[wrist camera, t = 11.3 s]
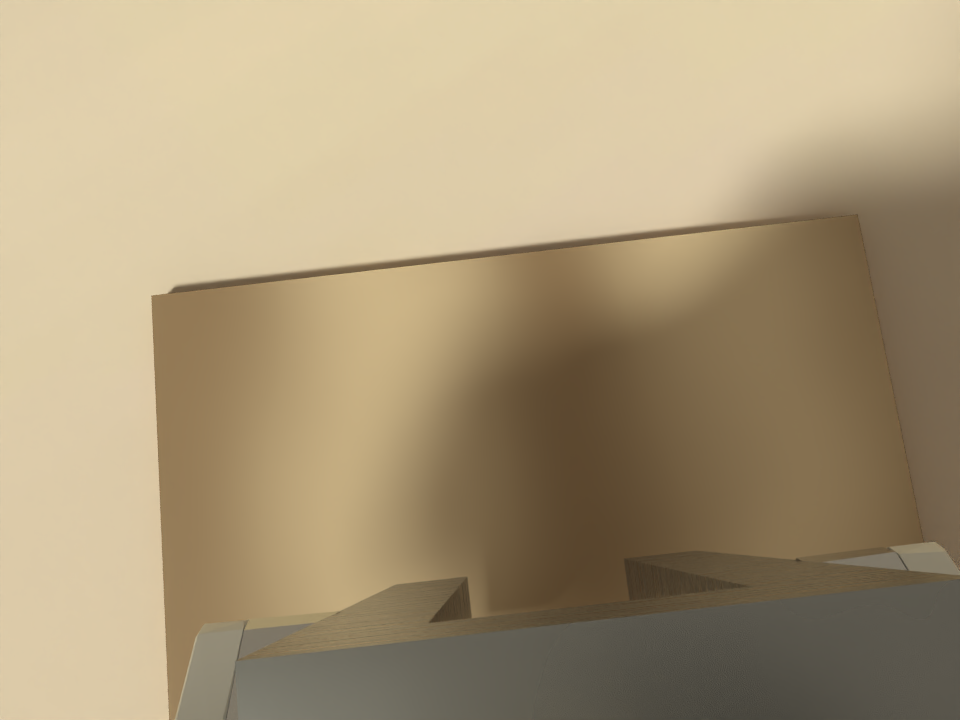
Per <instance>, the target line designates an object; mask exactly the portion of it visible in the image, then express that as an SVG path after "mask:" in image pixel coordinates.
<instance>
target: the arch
mask: <svg viewBox="0 0 960 720" xmlns="http://www.w3.org/2000/svg"><path fill="white" fill-rule="evenodd" d="M624 564H625V572H626V579H627V586H628V593H629V600H628V601H620V602H611V603H602V604H593V605H584V606H575V607H567V608H558V609H549V610H540V611H531V612H522V613H514V614H505V615H496V616H487V617H478V618H472V615H471V605H470V596H469V586H468V577H458V578H449V579H440V580H431V581H422V582H414V583H405V584H396V585H393V586H391V587H389V588H387V589H385V590H383V591H381V592H379V593H377V594H375V595H373V596H370V597H368V598H366V599H364V600H362V601H360V602H358V603H356V604H354V605H352V606H349V607H347V608H345V609H343V610H341V611H339V613H338V614H333V615H331V616H328V617H326V618H324V619H322V620H320V621H318V622H316V623H314V624H312V625H310V626H308V627H305V628H303V629H301V630H299V631H297V632H295V633H293V634H291V635H289V636H287V637H284V638H282V639H280V640H278V641H276V642H274V643H272V644H270V645H268V646H266V647H264V648H261V649H259V650H257V651H255V652H253V653H251V654H249V655H247V656H245V657H243V658H240V659H238V660H236V661H235V670H236V688H237V705H238V720H960V575H951V574H940V573H930V572H919V571H908V570H898V569H887V568H877V567H866V566H855V565H845V564H834V563H823V562H813V561H795V560H792V559H781V558H770V557H760V556H749V555H739V554H728V553H717V552H707V551H687V552H678V553H669V554H661V555H652V556H643V557H634V558H625V559H624Z"/></svg>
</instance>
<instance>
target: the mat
mask: <svg viewBox="0 0 960 720" xmlns="http://www.w3.org/2000/svg"><path fill="white" fill-rule="evenodd" d="M152 319H153V343H154V367H155V390H156V414H157V438H158V462H159V486H160V509H161V533H162V557H163V581H164V605H165V628H166V652H167V676H168V700H169V720H175V717H176V713H177V709H178V705H179V701H180V697H181V693H182V689H183V685H184V681H185V677H186V673H187V669H188V665H189V661H190V658H191V654H192V650H193V646H194V642H195V638H196V636H197V634H198V633H199V631H200V630H201V628H202V626H203V625H204V624H208V623H218V622H229V621H239V620H249V619H256V618H267V617H279V616H290V615H302V614H313V613H325V612H336V611H338V612H339V611H341V610H343V609H345V608H347V607H349V606H352V605H354V604H356V603H358V602H360V601H362V600H364V599H366V598H368V597H370V596H373V595H375V594H377V593H379V592H381V591H383V590H385V589H387V588H389V587H391V586H393V585H396V584H405V583H414V582H422V581H431V580H440V579H449V578H458V577H468V586H469V596H470V605H471V615H472V618H478V617H487V616H496V615H505V614H514V613H522V612H531V611H540V610H549V609H558V608H567V607H575V606H584V605H593V604H602V603H611V602H620V601H628V600H629V593H628V586H627V579H626V572H625V564H624V559H625V558H634V557H643V556H652V555H661V554H669V553H678V552H687V551H707V552H717V553H728V554H739V555H749V556H760V557H770V558H781V559H792V560H796V558H799V557H807V556H814V555H822V554H830V553H838V552H846V551H854V550H862V549H870V548H878V547H884V548H887V547H892V546H900V545H909V544H917V543H924V542H923V537H922V532H921V527H920V522H919V517H918V512H917V507H916V502H915V497H914V492H913V487H912V482H911V477H910V472H909V467H908V462H907V457H906V452H905V447H904V442H903V438H902V433H901V428H900V423H899V418H898V413H897V408H896V403H895V398H894V393H893V388H892V383H891V378H890V373H889V368H888V363H887V358H886V353H885V348H884V343H883V338H882V334H881V329H880V324H879V319H878V314H877V309H876V304H875V299H874V294H873V289H872V284H871V279H870V274H869V269H868V264H867V259H866V254H865V249H864V244H863V239H862V234H861V229H860V225H859V220H858V215H849V216H840V217H832V218H823V219H814V220H806V221H797V222H788V223H780V224H771V225H762V226H753V227H745V228H736V229H727V230H719V231H710V232H701V233H693V234H684V235H675V236H666V237H658V238H649V239H640V240H632V241H623V242H614V243H606V244H597V245H588V246H579V247H571V248H562V249H553V250H545V251H536V252H527V253H519V254H510V255H501V256H492V257H484V258H475V259H466V260H458V261H449V262H440V263H432V264H423V265H414V266H405V267H397V268H388V269H379V270H371V271H362V272H353V273H345V274H336V275H327V276H318V277H310V278H301V279H292V280H284V281H275V282H266V283H258V284H249V285H240V286H231V287H223V288H214V289H205V290H197V291H188V292H179V293H171V294H162V295H153V296H152Z"/></svg>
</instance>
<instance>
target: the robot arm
mask: <svg viewBox="0 0 960 720" xmlns="http://www.w3.org/2000/svg"><path fill="white" fill-rule="evenodd" d="M795 561H813V562H823V563H834V564H845V565H855V566H866V567H877V568H887V569H898V570H908V571H919V572H930V573H940V574H951V575H960V571H959V569H958V568H957V566H956V565H955V563H954V562H953V560H952V559H951V557H950V556H949V554H948V553H947V552H946V550H945V549H944V548H943V547H942V546H940V545H939V544H937V543H936V542H926V543H917V544H909V545H900V546H892V547H887V548H884V547H878V548H870V549H862V550H854V551H846V552H838V553H830V554H822V555H814V556H807V557H799V558H796V560H795ZM338 613H339V612H338V611H336V612H325V613H313V614H302V615H290V616H279V617H267V618H256V619H249V620H239V621H229V622H218V623H208V624H204V625H203V626H202V628H201V630H200V631H199V633H198V634H197V636H196V638H195V642H194V646H193V650H192V654H191V658H190V661H189V665H188V669H187V673H186V677H185V681H184V685H183V689H182V693H181V697H180V701H179V705H178V709H177V713H176V717H175V720H238V705H237V688H236V670H235V661H236V660H238V659H240V658H243V657H245V656H247V655H249V654H251V653H253V652H255V651H257V650H259V649H261V648H264V647H266V646H268V645H270V644H272V643H274V642H276V641H278V640H280V639H282V638H284V637H287V636H289V635H291V634H293V633H295V632H297V631H299V630H301V629H303V628H305V627H308V626H310V625H312V624H314V623H316V622H318V621H320V620H322V619H324V618H326V617H328V616H331V615H333V614H338Z"/></svg>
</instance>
